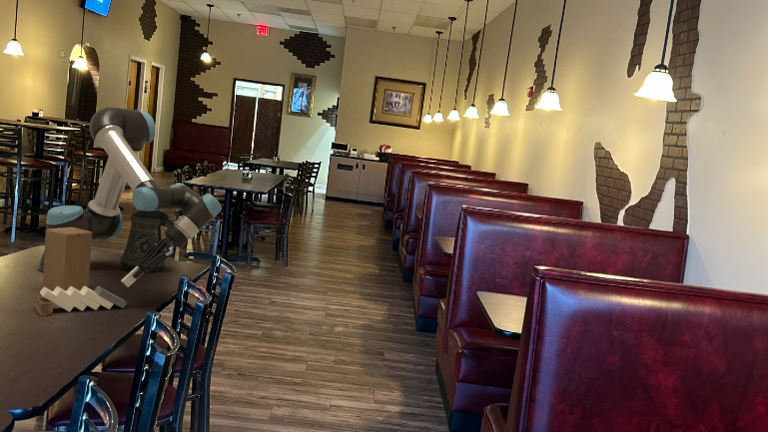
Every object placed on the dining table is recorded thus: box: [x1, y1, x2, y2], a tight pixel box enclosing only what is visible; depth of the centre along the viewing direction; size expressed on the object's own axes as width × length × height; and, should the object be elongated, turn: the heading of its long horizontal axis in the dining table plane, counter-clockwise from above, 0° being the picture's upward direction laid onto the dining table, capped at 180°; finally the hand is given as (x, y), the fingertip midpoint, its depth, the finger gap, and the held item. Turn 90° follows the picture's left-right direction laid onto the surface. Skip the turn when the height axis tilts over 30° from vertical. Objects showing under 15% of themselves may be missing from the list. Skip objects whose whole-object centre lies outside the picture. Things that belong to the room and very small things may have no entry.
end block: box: [34, 295, 54, 317], centre depth 189 cm, size 3×9×4 cm, turn 38°
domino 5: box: [93, 285, 128, 309], centre depth 201 cm, size 2×5×9 cm
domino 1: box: [39, 286, 75, 313], centre depth 191 cm, size 2×5×9 cm
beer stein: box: [120, 209, 175, 274], centre depth 255 cm, size 16×19×25 cm
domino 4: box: [80, 286, 114, 310], centre depth 198 cm, size 2×5×9 cm
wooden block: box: [42, 227, 93, 291], centre depth 213 cm, size 10×10×20 cm
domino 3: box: [66, 286, 101, 311], centre depth 196 cm, size 2×5×9 cm
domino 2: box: [53, 286, 88, 312], centre depth 193 cm, size 2×5×9 cm
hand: (124, 284), depth 203 cm, fingers closed
